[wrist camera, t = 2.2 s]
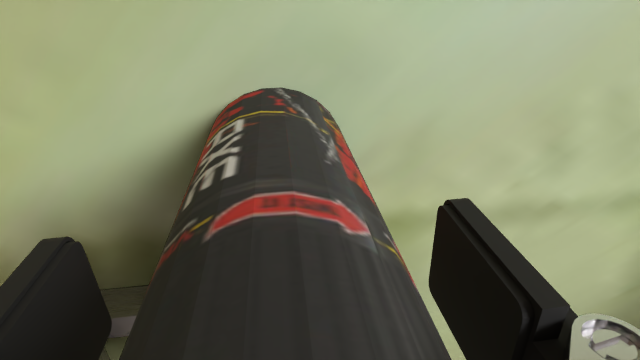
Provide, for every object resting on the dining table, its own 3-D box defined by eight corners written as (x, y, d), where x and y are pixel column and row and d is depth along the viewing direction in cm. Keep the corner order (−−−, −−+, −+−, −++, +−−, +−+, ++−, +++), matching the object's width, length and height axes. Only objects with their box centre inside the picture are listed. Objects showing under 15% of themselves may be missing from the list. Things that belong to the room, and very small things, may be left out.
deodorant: (294, 231, 19) (353, 828, 6) (182, 172, 17) (-158, 905, 3) (370, 137, 17) (732, 689, 4) (255, 57, 15) (136, 672, 2)
